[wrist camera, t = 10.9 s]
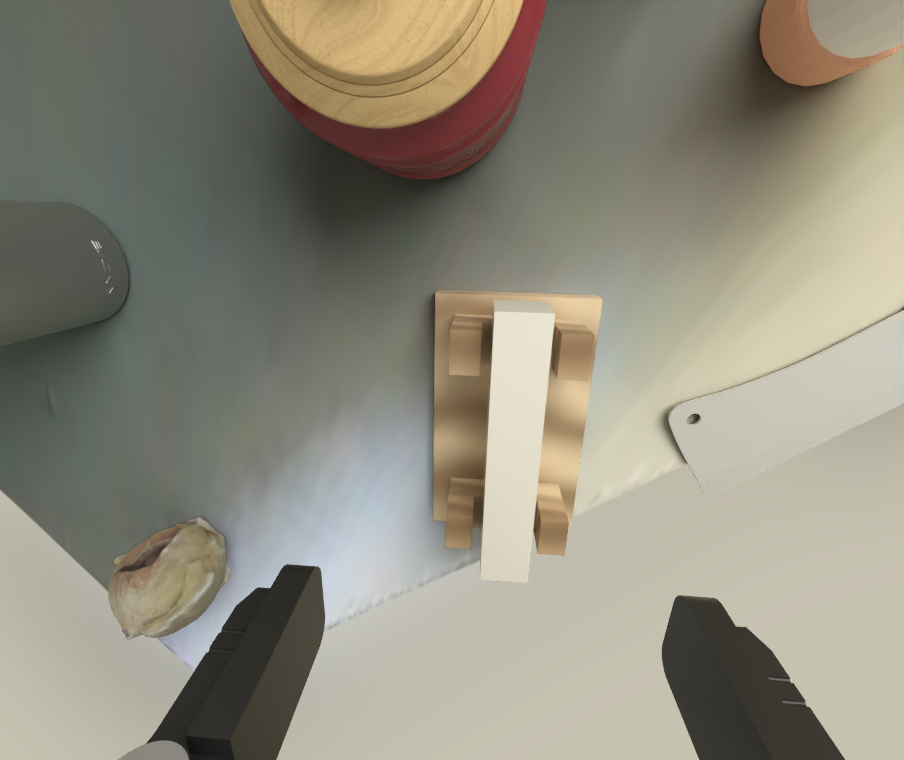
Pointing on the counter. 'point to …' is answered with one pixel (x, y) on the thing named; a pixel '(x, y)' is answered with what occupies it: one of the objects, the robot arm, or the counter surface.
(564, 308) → the wooden plate with pegs
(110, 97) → the counter surface
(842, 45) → the salt shaker
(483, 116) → the canister
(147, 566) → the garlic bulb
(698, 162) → the counter surface
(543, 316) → the cream white rectangular bar
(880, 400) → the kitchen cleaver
